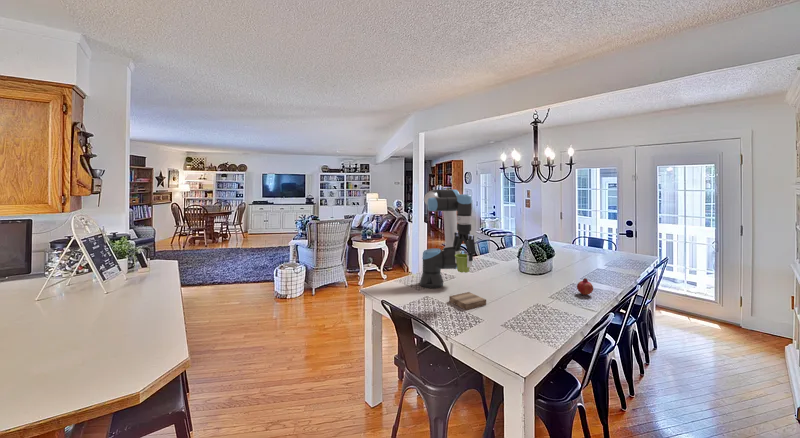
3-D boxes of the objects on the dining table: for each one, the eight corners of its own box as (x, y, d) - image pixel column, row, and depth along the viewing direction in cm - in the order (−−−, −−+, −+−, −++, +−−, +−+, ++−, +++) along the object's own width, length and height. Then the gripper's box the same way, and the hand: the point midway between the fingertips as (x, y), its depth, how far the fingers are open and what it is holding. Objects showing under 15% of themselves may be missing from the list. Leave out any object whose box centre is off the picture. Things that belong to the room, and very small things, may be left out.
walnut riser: (449, 301, 174) (449, 296, 173) (468, 296, 180) (468, 291, 180) (466, 310, 161) (466, 304, 161) (486, 304, 168) (486, 299, 168)
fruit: (594, 297, 178) (596, 280, 177) (579, 296, 180) (580, 279, 178) (589, 292, 186) (590, 276, 185) (574, 292, 187) (575, 275, 186)
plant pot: (461, 268, 175) (461, 252, 174) (475, 271, 168) (476, 255, 167) (451, 271, 169) (451, 255, 168) (465, 274, 162) (465, 258, 161)
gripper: (446, 221, 174) (445, 261, 176) (472, 226, 154) (471, 270, 157) (457, 221, 177) (456, 259, 179) (483, 225, 158) (482, 268, 160)
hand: (463, 264), depth 168 cm, fingers closed on plant pot, 9 cm apart
